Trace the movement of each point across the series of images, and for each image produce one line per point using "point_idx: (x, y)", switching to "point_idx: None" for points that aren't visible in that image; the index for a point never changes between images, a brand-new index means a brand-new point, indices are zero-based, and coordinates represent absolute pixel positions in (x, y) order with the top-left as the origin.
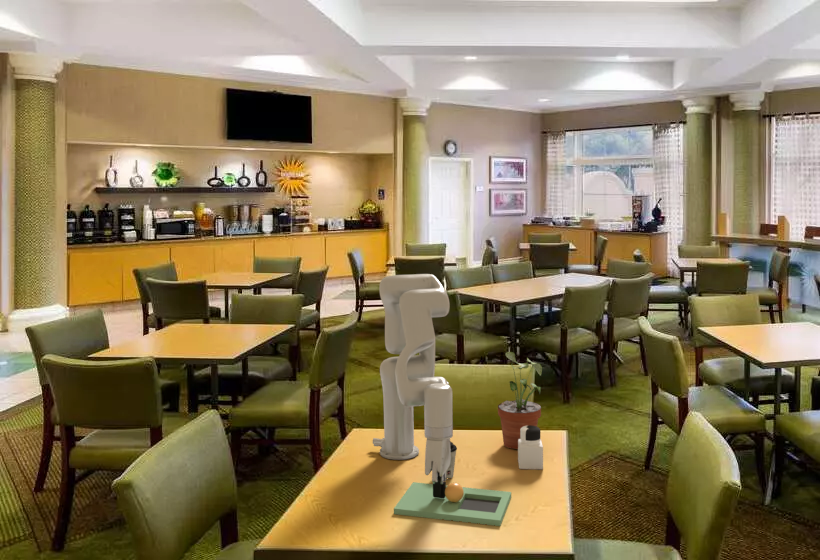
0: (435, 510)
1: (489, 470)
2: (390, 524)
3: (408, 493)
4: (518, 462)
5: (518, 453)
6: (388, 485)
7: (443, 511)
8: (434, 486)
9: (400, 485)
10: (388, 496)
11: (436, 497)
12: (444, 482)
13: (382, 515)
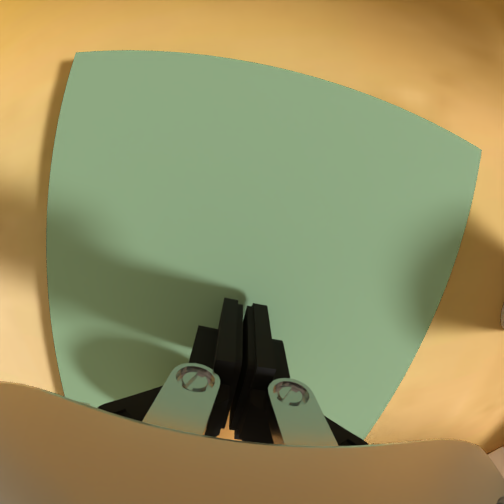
0: (73, 304)
1: (496, 415)
2: (5, 88)
3: (320, 104)
4: (490, 455)
5: (499, 470)
6: (463, 30)
7: (76, 341)
8: (215, 351)
9: (473, 85)
10: (337, 3)
11: (220, 316)
12: (236, 434)
13: (83, 17)
